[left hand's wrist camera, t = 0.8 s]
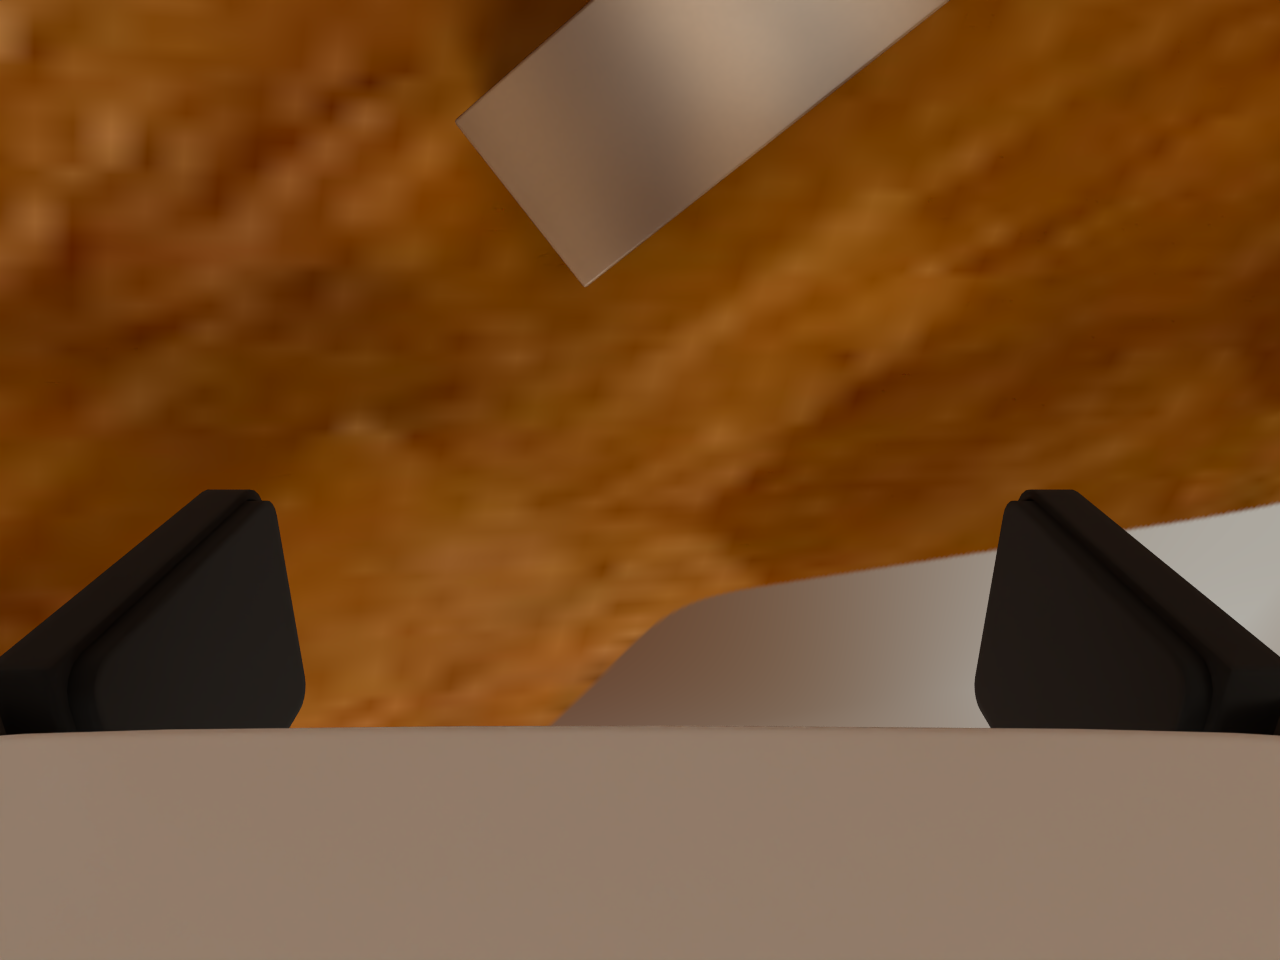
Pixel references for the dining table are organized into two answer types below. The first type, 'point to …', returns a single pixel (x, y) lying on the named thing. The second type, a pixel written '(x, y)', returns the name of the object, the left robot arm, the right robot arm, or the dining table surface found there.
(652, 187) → the beam
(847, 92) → the dining table surface
